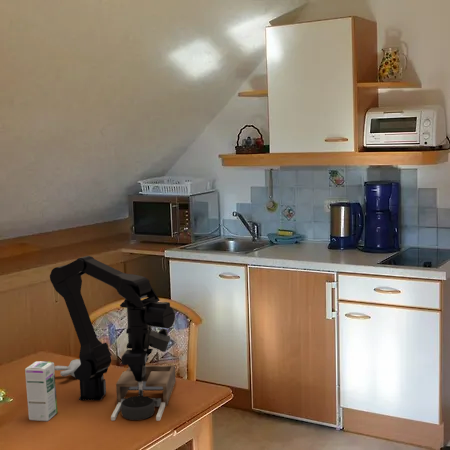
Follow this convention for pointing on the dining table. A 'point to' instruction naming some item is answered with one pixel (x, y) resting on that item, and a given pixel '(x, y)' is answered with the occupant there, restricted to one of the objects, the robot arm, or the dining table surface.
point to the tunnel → (148, 380)
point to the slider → (140, 384)
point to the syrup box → (41, 391)
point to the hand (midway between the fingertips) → (140, 379)
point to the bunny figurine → (69, 368)
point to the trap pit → (146, 387)
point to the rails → (120, 408)
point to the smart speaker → (137, 407)
